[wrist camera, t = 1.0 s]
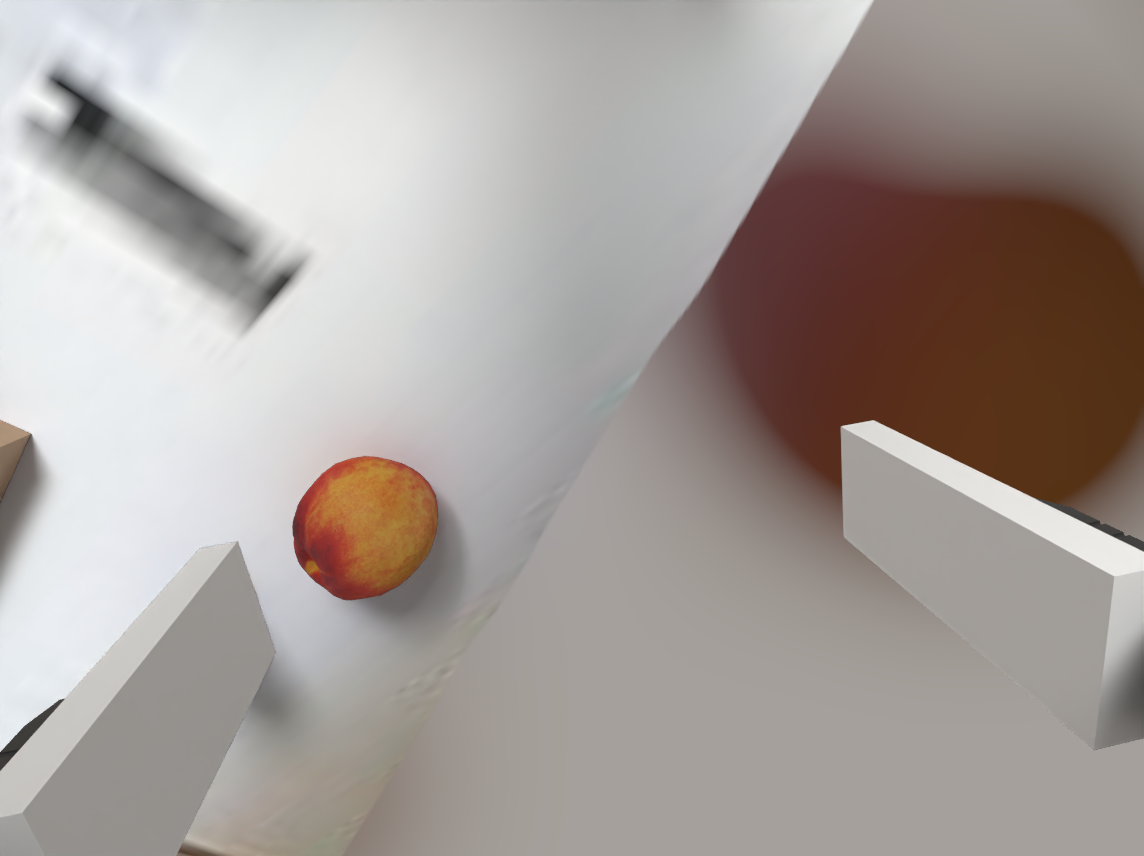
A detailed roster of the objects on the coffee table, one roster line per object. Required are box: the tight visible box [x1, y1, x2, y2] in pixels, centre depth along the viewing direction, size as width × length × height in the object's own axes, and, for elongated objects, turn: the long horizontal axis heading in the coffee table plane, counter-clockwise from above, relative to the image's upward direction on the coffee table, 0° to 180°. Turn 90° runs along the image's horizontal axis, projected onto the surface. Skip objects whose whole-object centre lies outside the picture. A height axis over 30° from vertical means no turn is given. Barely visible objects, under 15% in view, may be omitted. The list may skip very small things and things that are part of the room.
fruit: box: [292, 456, 438, 600], centre depth 37 cm, size 8×8×8 cm
